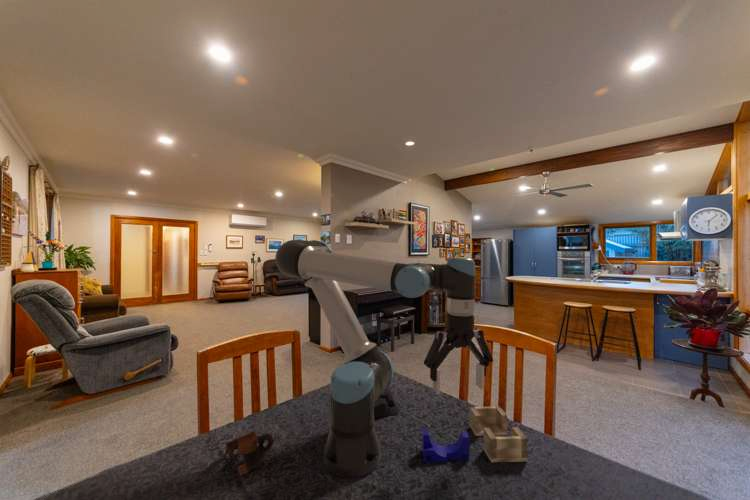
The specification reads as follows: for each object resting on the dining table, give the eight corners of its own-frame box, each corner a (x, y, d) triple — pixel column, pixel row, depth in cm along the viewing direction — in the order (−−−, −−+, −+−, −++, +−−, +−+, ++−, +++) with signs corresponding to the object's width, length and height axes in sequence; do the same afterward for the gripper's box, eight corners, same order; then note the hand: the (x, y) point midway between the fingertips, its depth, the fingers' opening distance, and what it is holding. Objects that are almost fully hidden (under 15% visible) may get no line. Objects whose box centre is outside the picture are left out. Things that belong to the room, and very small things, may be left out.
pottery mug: (226, 484, 71) (218, 447, 73) (233, 476, 79) (226, 443, 82) (277, 458, 75) (268, 424, 78) (278, 452, 83) (270, 422, 86)
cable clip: (423, 461, 78) (423, 438, 78) (422, 450, 82) (422, 428, 82) (470, 464, 77) (470, 441, 77) (466, 452, 81) (466, 430, 81)
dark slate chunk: (392, 388, 120) (392, 376, 120) (399, 418, 98) (399, 404, 98) (354, 388, 120) (354, 377, 120) (353, 419, 98) (353, 405, 98)
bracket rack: (491, 462, 77) (491, 439, 77) (469, 426, 93) (469, 406, 93) (527, 461, 77) (527, 438, 77) (499, 425, 93) (499, 406, 93)
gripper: (424, 318, 75) (422, 401, 75) (507, 314, 82) (505, 391, 82) (413, 311, 83) (411, 387, 83) (490, 309, 89) (488, 379, 89)
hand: (458, 389), depth 82 cm, fingers open, 13 cm apart
